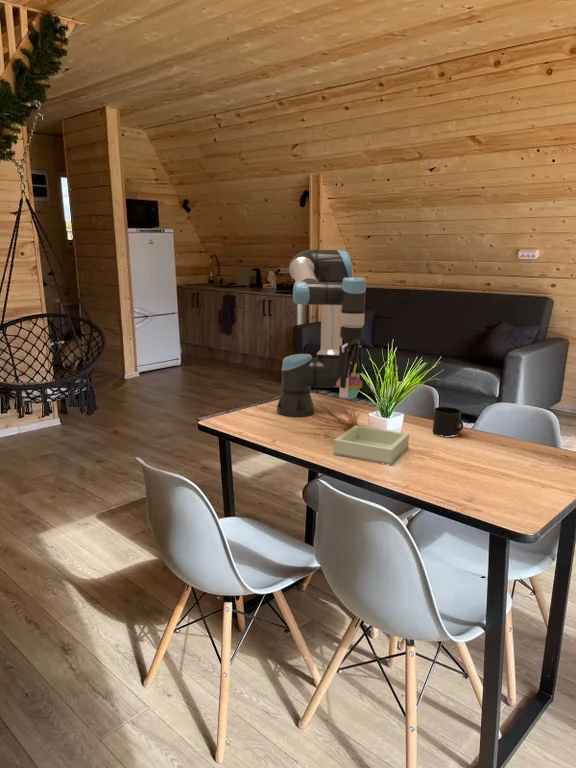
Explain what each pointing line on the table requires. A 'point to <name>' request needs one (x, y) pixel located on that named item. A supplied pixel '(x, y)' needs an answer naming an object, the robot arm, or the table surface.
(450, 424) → the mug
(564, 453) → the table surface
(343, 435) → the serving bin
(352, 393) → the cupcake
